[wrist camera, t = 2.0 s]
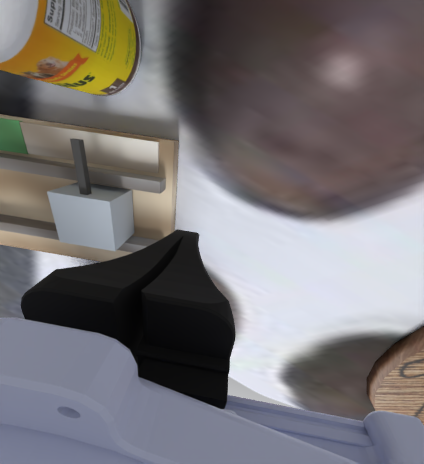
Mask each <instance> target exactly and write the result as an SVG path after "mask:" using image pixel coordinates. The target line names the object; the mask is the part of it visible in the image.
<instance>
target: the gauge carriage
mask: <svg viewBox="0 0 424 464" xmlns="http://www.w3.org/2000/svg"><path fill="white" fill-rule="evenodd" d="M70 142H71V147H72V153H73V158H74V164H75V169H76V175H77V180H78V182H77V183H74V184H71V185H67V186H64V187H61V188H57V189H54V190H51V191H48V192H47V194H48V198H49V202H50V206H51V209H52V213H53V217H54V221H55V225H56V229H57V233H58V236H59V240H60V242H63V243H69V244H75V245H81V246H87V247H93V248H99V249H105V250H110V251H116V250H117V249H118V248H119V247H120V246H121V245H122V244H123V243H124V242H125V241H126V240H128V239H129V238H130V237H131V236H132V235H133V234H134V216H133V198H132V190H130V189H123V188H117V187H111V186H104V185H98V184H92V183H90V179H89V173H88V166H87V160H86V153H85V147H84V140H82V139H70Z"/></svg>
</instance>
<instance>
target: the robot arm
mask: <svg viewBox="0 0 424 464" xmlns="http://www.w3.org/2000/svg"><path fill="white" fill-rule="evenodd" d="M198 241H199V234H198V233H195V232H189V231H183V230H176V231H174V232H173V233H171V234H169V235H168V236H166V237H164V238H162V239H161V240H159V241H157V242H155V243H153V244H151V245H149V246H147V247H145V248H143V249H141V250H139V251H136V252H134V253H131V254H128V255H125V256H122V257H119V258H115V259H112V260H108V261H104V262H100V263H95V264H90V265H85V266H78V267H71V268H64V269H56V270H55V271H53V272H52V273H51V274H49V275H48V276H47V277H45V278H44V279H43V280H41V281H40V282H39V283H37V284H36V285H35V286H33V287H32V288H31V289H30V290H28V291H27V292H26V293H25V294H24V295H23V297H22V300H21V309H22V312H23V315H24V317H25V319H21V318H15V317H10V318H0V464H424V425H423V424H422V422H421V421H420V419H418V418H417V417H414V416H409V415H404V414H398V413H393V412H388V411H373V412H371V413H369V414H368V415H367V416H366V418H365V419H364V421H359V420H353V419H348V418H343V417H338V416H333V415H328V414H323V413H317V412H312V411H307V410H302V409H297V408H292V407H286V406H281V405H276V404H271V403H266V402H260V401H255V400H251V399H246V398H240V397H235V396H230V395H227V392H228V374H229V367H230V356H231V352H232V349H233V345H234V342H235V325H234V319H233V315H232V311H231V307H230V304H229V301H228V300H227V299H226V298H225V297H224V295H223V294H222V293H221V292H220V291H219V290H218V289H217V287H216V286H215V285H214V283H213V282H212V280H211V278H210V277H209V275H208V273H207V271H206V269H205V267H204V265H203V262H202V259H201V256H200V252H199V247H198Z"/></svg>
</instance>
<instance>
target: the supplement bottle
mask: <svg viewBox="0 0 424 464" xmlns="http://www.w3.org/2000/svg"><path fill="white" fill-rule="evenodd" d="M140 58H141V39H140V33H139V28H138V24H137V21H136V18H135V15H134V13H133V10H132V8H131V6H130V4H129V2H128V0H0V70H2V71H5V72H10V73H13V74H18V75H21V76H24V77H28V78H32V79H36V80H40V81H44V82H48V83H52V84H55V85H59V86H63V87H67V88H71V89H75V90H79V91H83V92H86V93H90V94H94V95H100V96H111V95H115V94H118V93H120V92H122V91H123V90H125V89H126V88H127V87H128V86H129V85H130V84H131V83H132V81H133V80H134V78H135V76H136V74H137V71H138V68H139V64H140Z"/></svg>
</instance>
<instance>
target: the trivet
mask: <svg viewBox="0 0 424 464" xmlns="http://www.w3.org/2000/svg"><path fill="white" fill-rule="evenodd" d="M367 395H368V397H369V399H370V401H371V403H372V405H373V406H374V408H375V410H376V411H388V412H393V413H398V414H404V415H409V416H414V417H417V418H418V419H420V421H421V422H422V424H423V425H424V326H423V327H421V328H420V329H418V330H416V331H415V332H413V333H411V334H410V335H408V336H406V337H405V338H403V339H402V340H400V341H398V342H397V343H395V344H394V345H393V346H391V347H390V348H389V349H388V350H387V351H386V352H385V353H384V354H383V355H382V356H381V357H380V358H379V359H378V360H377V361H376V362H375V364H374V366H373V368H372V370H371V371H370V373H369V375H368V377H367Z"/></svg>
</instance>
